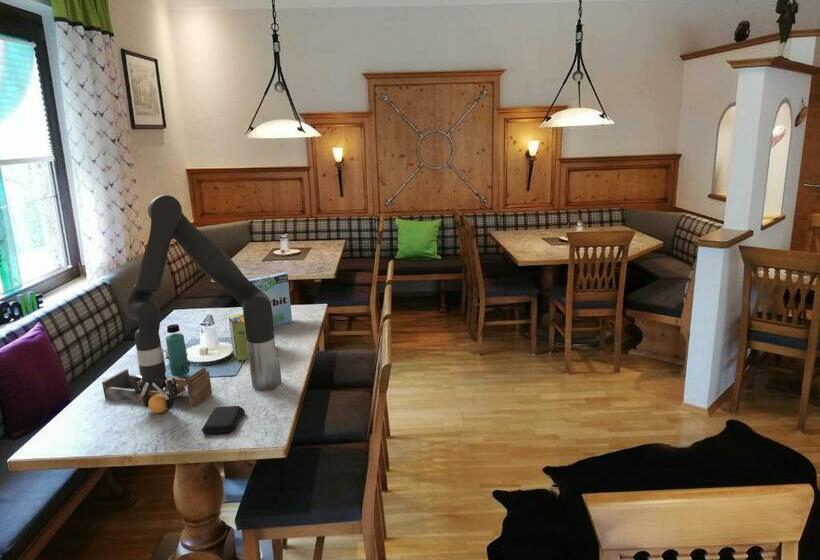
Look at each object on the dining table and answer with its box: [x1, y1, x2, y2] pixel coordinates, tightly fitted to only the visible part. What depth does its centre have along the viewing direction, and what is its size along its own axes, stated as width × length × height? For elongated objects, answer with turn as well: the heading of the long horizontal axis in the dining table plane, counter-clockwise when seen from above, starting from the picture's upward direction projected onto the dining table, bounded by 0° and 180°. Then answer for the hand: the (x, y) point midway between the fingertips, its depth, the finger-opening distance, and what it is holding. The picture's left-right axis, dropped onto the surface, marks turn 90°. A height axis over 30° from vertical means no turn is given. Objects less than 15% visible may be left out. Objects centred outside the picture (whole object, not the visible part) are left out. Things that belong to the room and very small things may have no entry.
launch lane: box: [101, 367, 213, 408], centre depth 197 cm, size 36×11×10 cm, turn 74°
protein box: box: [228, 313, 277, 362], centre depth 231 cm, size 10×15×16 cm
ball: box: [148, 394, 168, 414], centre depth 186 cm, size 6×6×6 cm
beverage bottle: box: [165, 323, 190, 378], centre depth 210 cm, size 6×7×20 cm
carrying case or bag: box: [201, 405, 246, 436], centre depth 177 cm, size 11×3×15 cm
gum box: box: [248, 272, 293, 327], centre depth 261 cm, size 20×5×23 cm, turn 127°
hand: (159, 407), depth 186 cm, fingers open, 8 cm apart
